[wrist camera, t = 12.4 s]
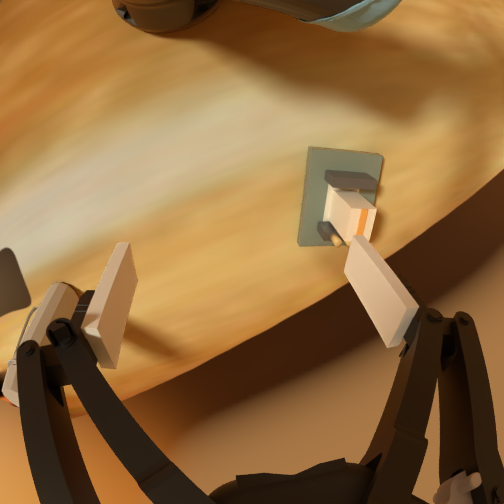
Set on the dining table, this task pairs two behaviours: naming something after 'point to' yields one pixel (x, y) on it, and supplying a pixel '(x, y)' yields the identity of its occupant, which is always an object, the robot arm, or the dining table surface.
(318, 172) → the header board
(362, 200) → the plug
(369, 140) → the dining table surface
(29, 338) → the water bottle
